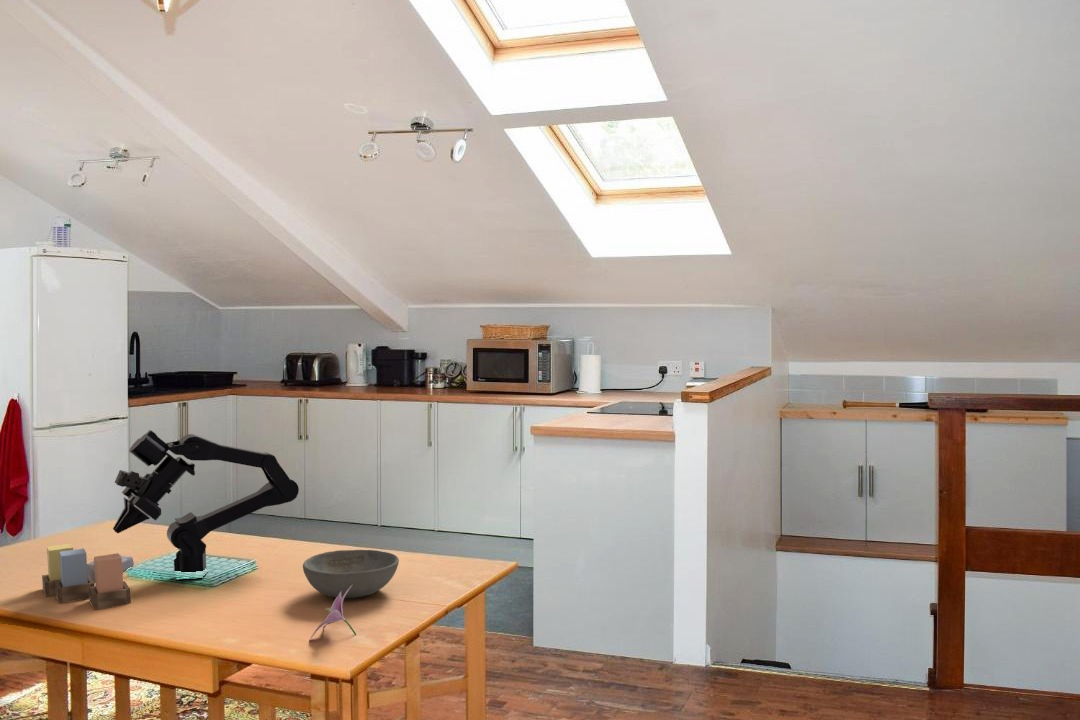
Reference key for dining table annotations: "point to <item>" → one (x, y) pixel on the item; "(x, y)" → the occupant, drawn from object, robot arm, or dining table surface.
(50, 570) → the ochre block
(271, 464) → the robot arm
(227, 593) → the dining table surface
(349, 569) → the bowl
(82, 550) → the blue-grey block
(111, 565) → the tan block
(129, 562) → the stone block
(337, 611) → the lily
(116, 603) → the walnut sockets
